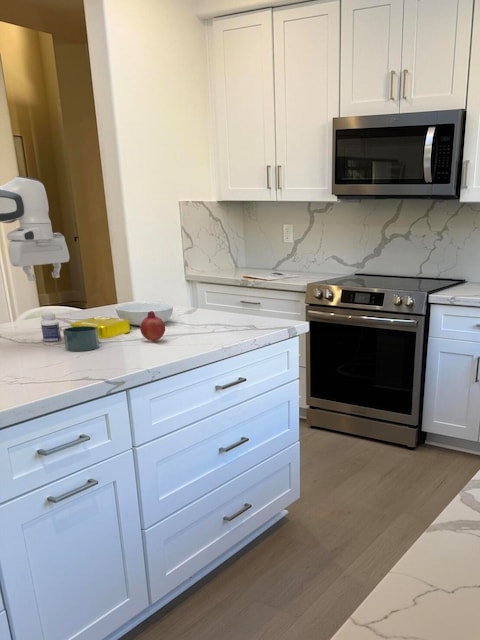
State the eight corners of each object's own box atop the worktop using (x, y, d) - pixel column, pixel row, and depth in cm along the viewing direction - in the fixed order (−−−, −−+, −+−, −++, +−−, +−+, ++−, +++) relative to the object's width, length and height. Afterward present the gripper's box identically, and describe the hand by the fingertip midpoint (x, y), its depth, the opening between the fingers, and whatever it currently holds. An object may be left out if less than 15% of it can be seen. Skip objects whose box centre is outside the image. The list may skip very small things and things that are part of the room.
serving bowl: (154, 332, 220) (152, 313, 217) (105, 327, 226) (103, 309, 224) (184, 321, 238) (183, 304, 236) (139, 317, 245) (137, 300, 242)
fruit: (165, 343, 201) (162, 313, 197) (140, 344, 200) (137, 313, 196) (167, 337, 208) (164, 308, 205) (142, 338, 207) (139, 309, 203)
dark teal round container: (74, 352, 186) (71, 333, 184) (60, 347, 193) (57, 328, 191) (104, 347, 193) (102, 329, 191) (90, 343, 200) (88, 325, 198)
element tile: (69, 335, 210) (67, 322, 208) (99, 327, 223) (97, 314, 221) (104, 339, 205) (102, 325, 203) (132, 331, 218) (131, 318, 216)
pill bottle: (63, 344, 198) (59, 314, 195) (45, 346, 195) (41, 315, 192) (59, 340, 202) (55, 311, 199) (42, 342, 199) (37, 313, 196)
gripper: (56, 232, 197) (62, 275, 202) (1, 234, 180) (10, 282, 185) (70, 232, 195) (76, 276, 200) (16, 234, 178) (25, 283, 182)
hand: (44, 279), depth 192 cm, fingers open, 8 cm apart
